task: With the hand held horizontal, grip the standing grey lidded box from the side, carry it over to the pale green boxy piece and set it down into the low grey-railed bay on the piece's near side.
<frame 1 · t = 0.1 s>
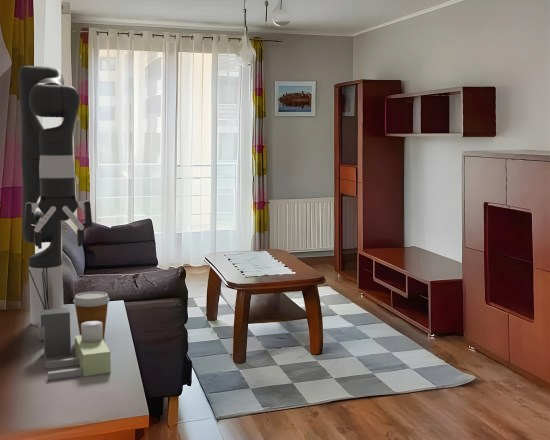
hand: (59, 247, 142), 29 cm above the table, tool pointing down, fingers open, 8 cm apart
reed diffuser: (44, 339, 170), on the table
grey lidded box: (57, 353, 158), on the table
disposable coffee cup: (92, 338, 171), on the table
pale green boxy piece: (92, 363, 151), on the table
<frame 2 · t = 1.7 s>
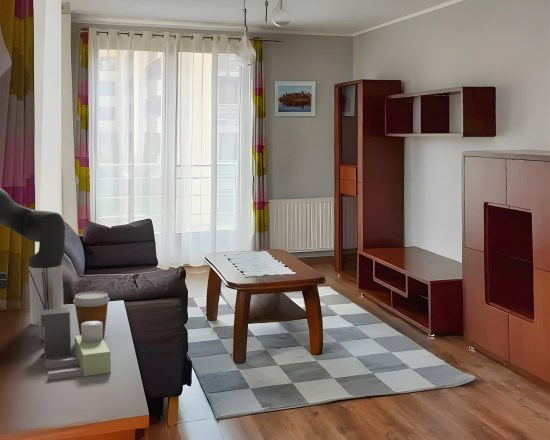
hand: (6, 280, 151), 20 cm above the table, tool horizontal, fingers open, 8 cm apart
nothing on the table moved.
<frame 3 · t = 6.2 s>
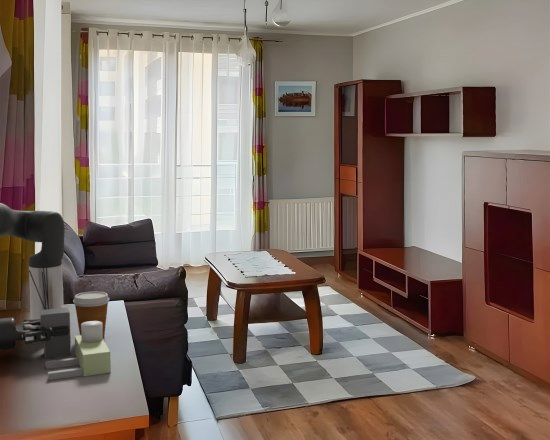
hand: (67, 327, 158), 7 cm above the table, tool horizontal, fingers closed on grey lidded box, 5 cm apart
grey lidded box: (57, 353, 158), on the table, touching gripper
everything else where it was.
when the fingers open (8 cm above the table, at t = 11.4 s): grey lidded box drops 1 cm, on the table.
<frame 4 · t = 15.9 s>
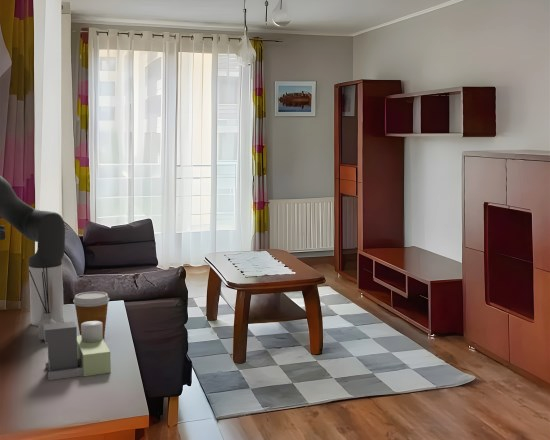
hand: (4, 232, 145), 32 cm above the table, tool horizontal, fingers open, 8 cm apart
grey lidded box: (63, 371, 145), on the table
everything else where it was.
at the end: grey lidded box 0.3 cm from the target spot, on the table; grey lidded box tilted 0°; the gripper is holding nothing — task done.
